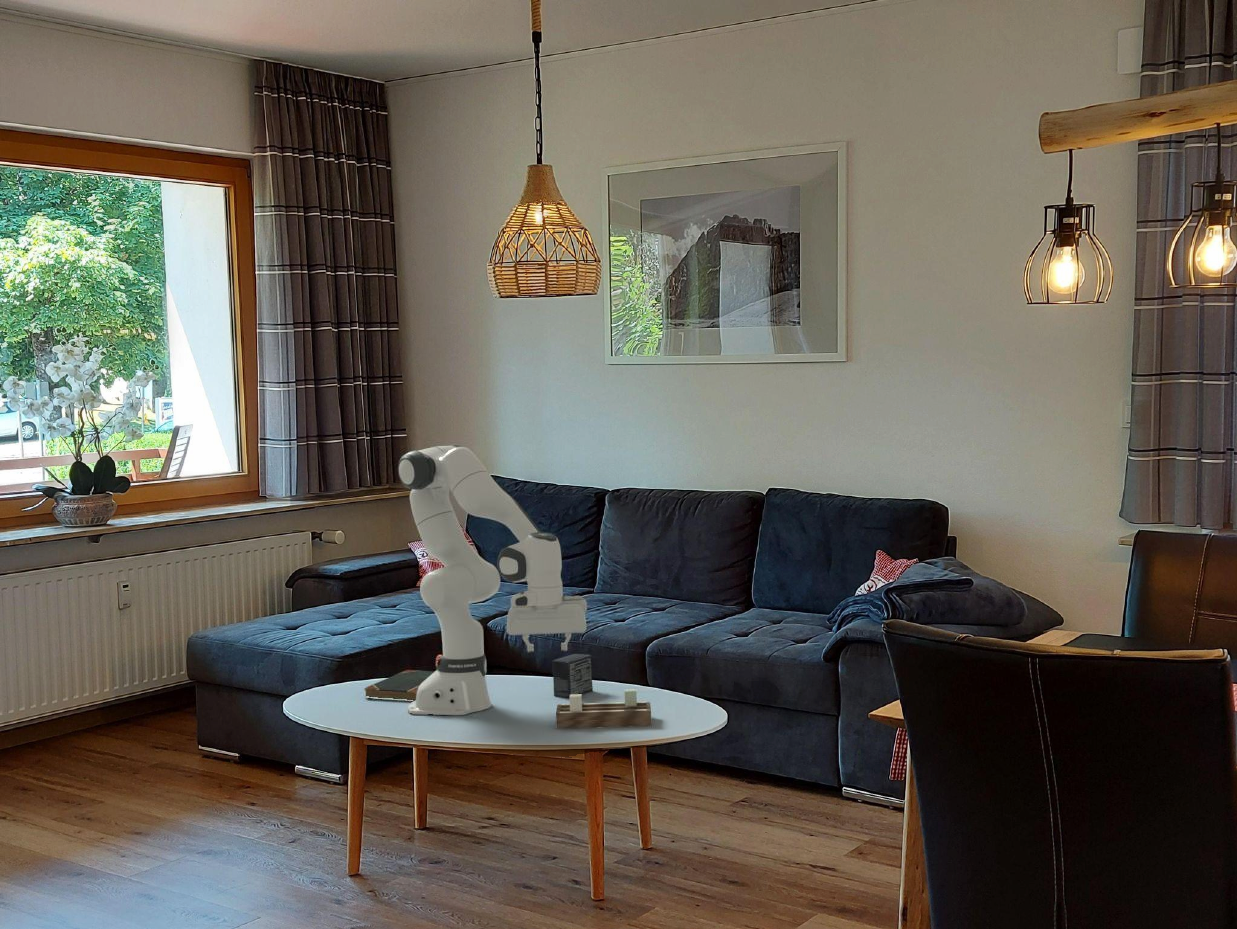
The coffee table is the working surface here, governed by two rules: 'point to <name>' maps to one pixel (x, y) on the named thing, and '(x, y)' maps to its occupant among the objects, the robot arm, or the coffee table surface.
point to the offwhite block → (575, 702)
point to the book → (399, 685)
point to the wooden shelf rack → (603, 715)
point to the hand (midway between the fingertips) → (547, 651)
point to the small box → (572, 675)
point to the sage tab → (630, 697)
